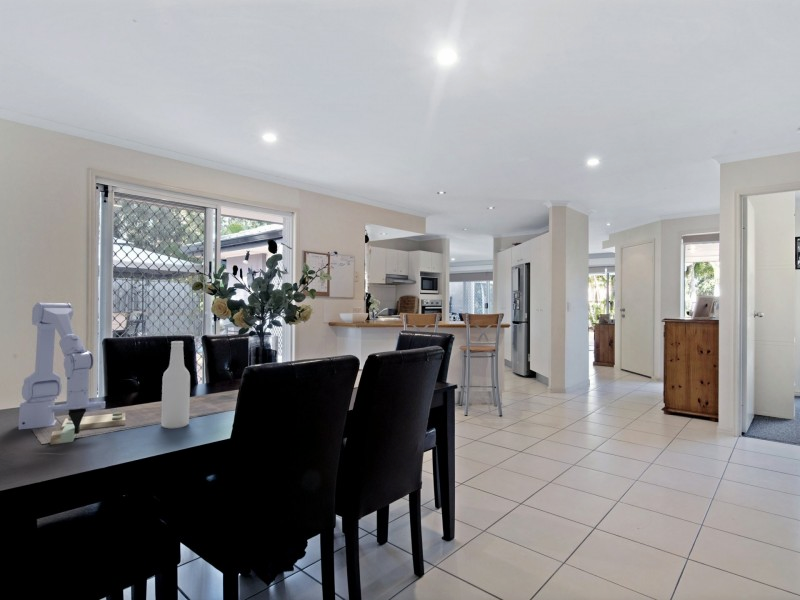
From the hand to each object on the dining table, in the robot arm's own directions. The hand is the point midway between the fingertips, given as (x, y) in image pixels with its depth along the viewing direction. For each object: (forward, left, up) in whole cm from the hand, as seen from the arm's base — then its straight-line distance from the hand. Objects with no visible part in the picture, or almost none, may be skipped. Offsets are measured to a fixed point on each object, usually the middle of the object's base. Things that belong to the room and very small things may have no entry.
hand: (76, 433), depth 138 cm
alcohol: (+28, +1, -2) cm, 28 cm away
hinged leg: (-2, +2, -1) cm, 3 cm away
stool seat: (+4, +9, -2) cm, 9 cm away
